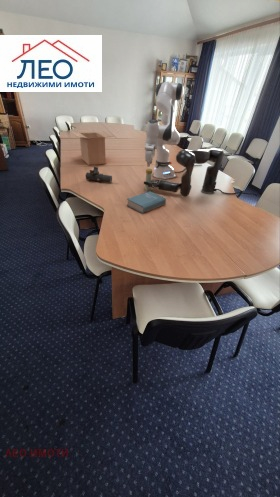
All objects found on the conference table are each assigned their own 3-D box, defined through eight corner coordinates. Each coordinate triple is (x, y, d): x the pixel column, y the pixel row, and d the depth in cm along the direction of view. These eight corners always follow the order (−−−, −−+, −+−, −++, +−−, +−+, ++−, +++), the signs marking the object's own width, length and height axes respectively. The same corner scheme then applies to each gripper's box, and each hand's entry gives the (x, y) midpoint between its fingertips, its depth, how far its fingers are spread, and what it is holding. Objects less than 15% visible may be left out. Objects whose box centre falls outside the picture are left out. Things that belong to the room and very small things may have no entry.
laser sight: (109, 184, 185) (109, 172, 179) (84, 181, 187) (82, 169, 182) (112, 180, 192) (112, 169, 186) (88, 177, 195) (87, 166, 189)
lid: (146, 171, 175) (146, 168, 174) (152, 172, 174) (153, 169, 173) (145, 173, 171) (145, 170, 170) (151, 174, 170) (151, 171, 169)
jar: (145, 188, 183) (147, 169, 173) (150, 189, 182) (152, 170, 173) (144, 190, 180) (145, 170, 170) (149, 191, 179) (151, 171, 169)
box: (116, 165, 229) (116, 136, 213) (83, 168, 214) (80, 137, 198) (102, 154, 259) (101, 128, 243) (71, 156, 244) (68, 129, 228)
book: (149, 197, 168) (149, 191, 165) (165, 204, 160) (166, 198, 157) (127, 205, 155) (127, 198, 152) (143, 213, 146) (143, 207, 143)
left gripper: (149, 142, 169) (148, 161, 178) (144, 147, 153) (142, 167, 161) (157, 143, 169) (155, 162, 177) (153, 148, 152) (151, 169, 160)
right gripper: (168, 178, 177) (148, 174, 181) (163, 183, 166) (142, 179, 170) (167, 187, 181) (147, 183, 185) (162, 193, 170) (141, 189, 175)
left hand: (149, 165), depth 169 cm, fingers open, 7 cm apart
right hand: (145, 181), depth 178 cm, fingers closed on jar, 4 cm apart
